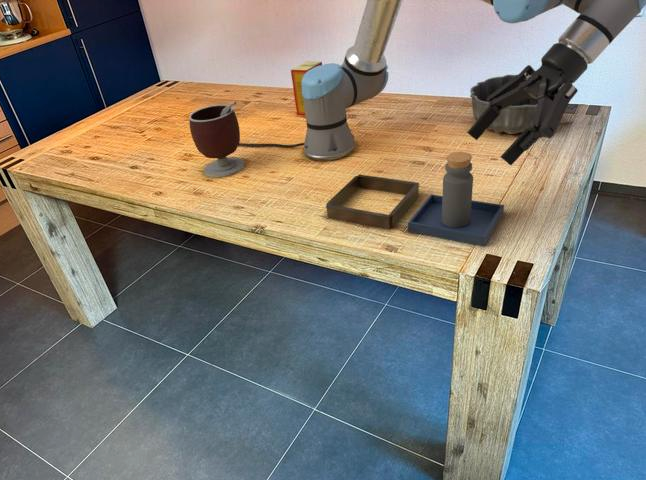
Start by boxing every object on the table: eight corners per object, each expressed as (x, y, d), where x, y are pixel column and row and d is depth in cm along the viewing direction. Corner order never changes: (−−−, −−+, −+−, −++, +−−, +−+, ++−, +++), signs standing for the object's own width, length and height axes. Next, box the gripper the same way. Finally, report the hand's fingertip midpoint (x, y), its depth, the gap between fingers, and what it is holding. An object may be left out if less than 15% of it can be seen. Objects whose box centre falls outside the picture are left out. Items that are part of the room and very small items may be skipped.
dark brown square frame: (325, 217, 120) (324, 205, 118) (358, 185, 130) (357, 174, 129) (391, 230, 111) (390, 217, 109) (420, 195, 122) (420, 182, 120)
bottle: (471, 227, 106) (476, 161, 98) (442, 228, 108) (444, 163, 99) (468, 213, 111) (473, 149, 102) (441, 214, 112) (443, 151, 104)
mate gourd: (193, 178, 151) (174, 112, 139) (215, 157, 161) (199, 94, 149) (239, 179, 145) (224, 110, 133) (258, 158, 155) (246, 92, 143)
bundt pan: (590, 125, 137) (598, 88, 131) (505, 150, 133) (509, 113, 128) (525, 100, 158) (529, 67, 152) (450, 121, 154) (451, 88, 149)
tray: (407, 231, 110) (407, 222, 109) (430, 202, 118) (430, 194, 117) (484, 246, 101) (485, 236, 100) (503, 214, 109) (504, 205, 108)
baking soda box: (312, 116, 177) (306, 69, 168) (297, 115, 181) (290, 68, 171) (326, 106, 183) (321, 60, 173) (311, 105, 186) (306, 60, 177)
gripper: (632, 83, 84) (534, 183, 92) (544, 52, 104) (470, 136, 113) (609, 56, 81) (509, 162, 89) (523, 29, 101) (448, 118, 109)
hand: (487, 148), depth 101 cm, fingers open, 13 cm apart
